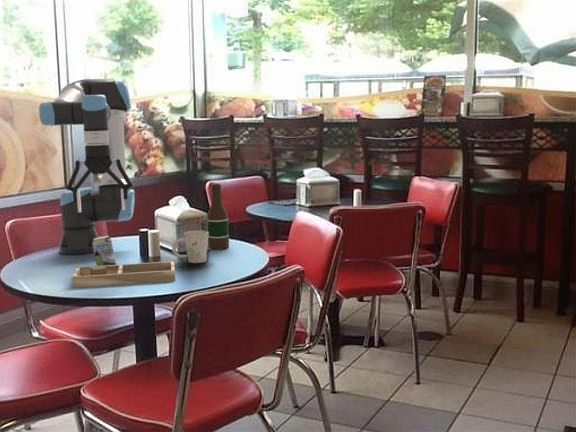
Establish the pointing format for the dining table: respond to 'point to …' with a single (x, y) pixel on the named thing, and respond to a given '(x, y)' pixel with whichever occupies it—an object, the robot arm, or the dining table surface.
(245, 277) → the dining table surface
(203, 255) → the mug
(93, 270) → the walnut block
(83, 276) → the walled box
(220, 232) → the beer bottle
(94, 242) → the beverage can
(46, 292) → the dining table surface
